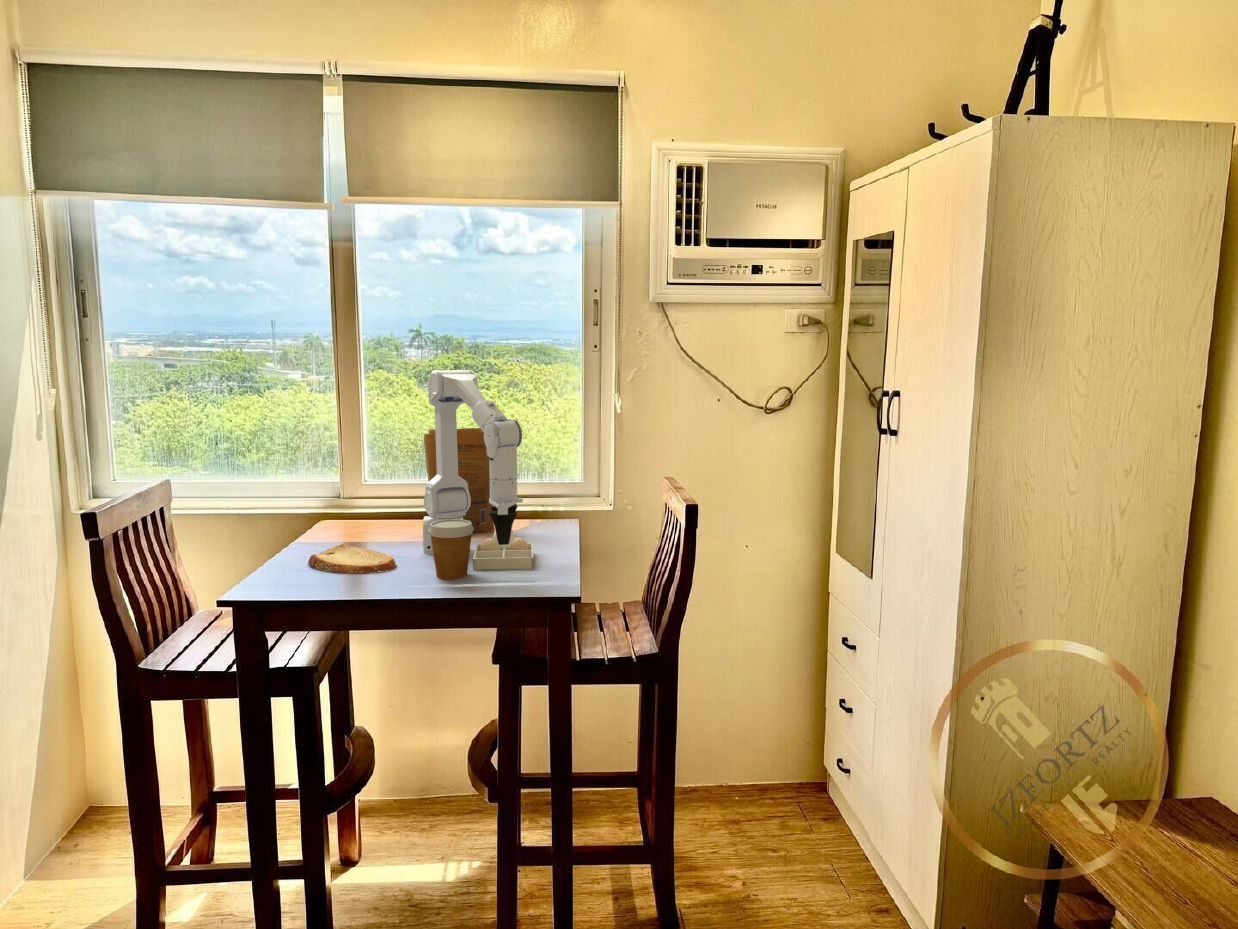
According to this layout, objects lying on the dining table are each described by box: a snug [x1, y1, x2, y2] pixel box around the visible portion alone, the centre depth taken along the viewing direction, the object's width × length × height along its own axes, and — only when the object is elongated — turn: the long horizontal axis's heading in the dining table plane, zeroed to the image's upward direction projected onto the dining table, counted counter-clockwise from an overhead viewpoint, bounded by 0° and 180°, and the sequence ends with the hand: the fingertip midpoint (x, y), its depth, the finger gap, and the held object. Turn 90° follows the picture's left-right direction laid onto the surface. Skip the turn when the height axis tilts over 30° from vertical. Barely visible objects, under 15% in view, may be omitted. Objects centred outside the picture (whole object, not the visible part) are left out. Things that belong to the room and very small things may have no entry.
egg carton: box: [472, 542, 534, 571], centre depth 183 cm, size 13×13×3 cm
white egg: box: [492, 529, 516, 548], centre depth 170 cm, size 5×5×5 cm
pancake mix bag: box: [423, 427, 496, 534], centre depth 213 cm, size 7×19×28 cm, turn 92°
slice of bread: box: [308, 543, 398, 574], centre depth 182 cm, size 18×18×4 cm
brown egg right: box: [508, 537, 528, 550], centre depth 187 cm, size 5×5×5 cm
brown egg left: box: [480, 537, 500, 551], centre depth 186 cm, size 5×5×5 cm
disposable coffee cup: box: [428, 519, 474, 581], centre depth 171 cm, size 10×10×12 cm
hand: (504, 541), depth 170 cm, fingers closed on white egg, 5 cm apart
